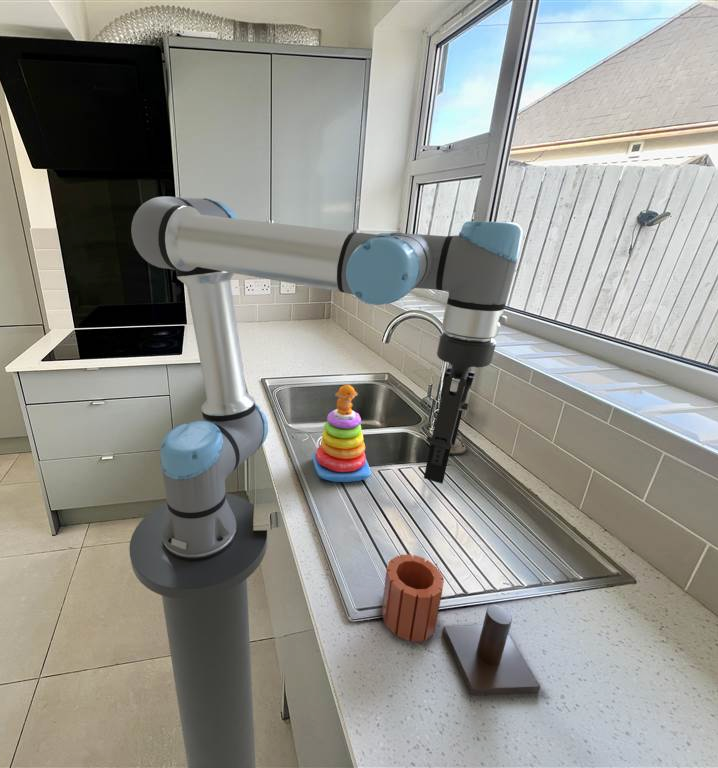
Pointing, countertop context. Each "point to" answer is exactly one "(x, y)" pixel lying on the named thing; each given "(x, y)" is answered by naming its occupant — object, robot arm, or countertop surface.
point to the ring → (412, 597)
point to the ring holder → (490, 656)
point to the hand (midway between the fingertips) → (440, 459)
